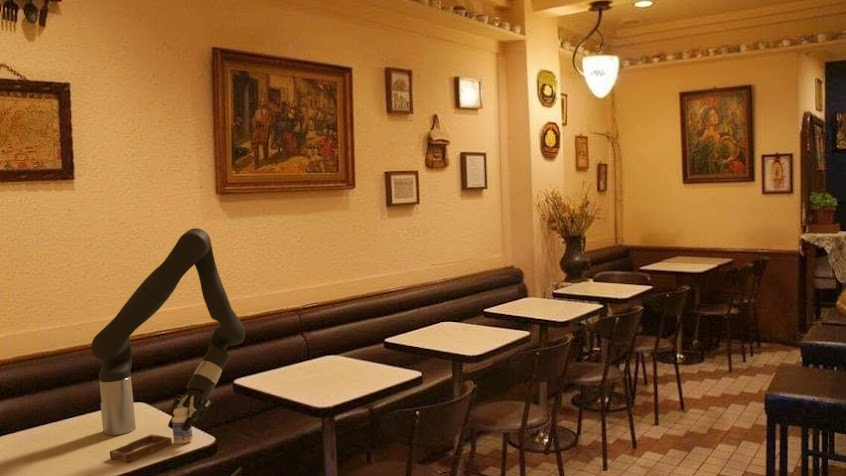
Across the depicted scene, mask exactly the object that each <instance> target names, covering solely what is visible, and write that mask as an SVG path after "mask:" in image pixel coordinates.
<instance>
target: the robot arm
mask: <svg viewBox="0 0 846 476" xmlns="http://www.w3.org/2000/svg"><path fill="white" fill-rule="evenodd" d="M193 266H195V268H196V272H197V274H198V278H199V283H200V289H201V293H202V296H203V297H202V298H203V301H204V303H205V306H206V308H207V311H208V314H209V316H210V318H211V319H212V320H213V321H216V322H218V323H219V325H218V326H217V327H216V328H215V329H214V331H213V333H212V334H211V335H212V336H211V338H210V342H209V346H208V349H207V352H206V353H205V355H204V357H203V359H202V361H201V362H200V363H199V365H198V366H197V368H196V369H195V371H194V373H193V374H192V377H191V378H190V380H189V381H188V384H187V385H186V392H184V394H183V395H180V393H178V394H176V395H175V397H174V400H173V403H172V404H171V407H170V410H169V412H170V413H171V414H172V416H171V418H170V420H169V422H168V424H167V426H168V428H169V429H171V430H173V426H172V418H173V417H174V416H175V415H174V409H177V408H181V407H186V408H187V409H188V417H187V419H186V420H185V422H184V424H183V426H182V430H183V431H185V432H187V431H188V430H189V429H190V427H191V425H193V423H194V422H195V421H197V420H201V419H202V418H203V417H204V416H205V414H206V412H207V411H208V410H209V408H210V406H211V405H212V402H211V401H210V400H209V399H208V398H210V396H211V394H212V392H213V391H214V388H215V387H216V386H217V383H218V381H219V379H220V377H221V374H222V372H223V371H224V368H225V366H226V365H227V363H228V360H229V358H230V355H229V353H228V351H227V348H228V346H237V345H240V344H241V343H243V342H244V340H245V338H246V330H245V327H244V325H243V322H242V321H241V320H240V318H239V317H238V315H237V314H236V312H235V311H234V309H233V308H232V306H231V302H230V301H229V297H228V295H227V292H226V289H225V287H224V285H223V282H222V279H221V277H220V274H219V271H218V268H217V264H216V260H215V256H214V251H213V247H212V241H211V237H210V235H209V234H208V233H207V231H205V230H204V229H201V228H197V227H194V228H190V229H188V230H186V231H185V232H184V233H183V234H182V235H181V236H180V237H179V238H178V239H177V242H176V244H175V245H174V246H173V247H172V249H171V251H170V252H169V254H168V256H166V258H165V259H164V260H163V261H162V263H161V264H160V265H159V266H158V267H156V268H155V269H154V270H153V271H152V272H151V273H150V274H149V275H148V276H147V277H146V278H145V279H144V280H143V281H142V282H141V283H140V285H139V286H138V287H137V288H136V289H135V291H134V292H133V293H132V294H131V296H130V297H129V298H128V299H127V300H126V302H125V303H124V304H123V306H122V307H121V308H120V310H119V312H118V313H117V314H116V316H114V317H113V319H112V320H111V321H110V322H109V323H108V324H107V325H106V326H104V328H103V329H101V330H100V331H99V332H98V333H97V334H96V335H95V336H94V338H93V339H92V342H91V346H90V349H91V353H92V355H93V357H95V358H96V359H97V360H100V361H102V367H101V368H100V370H99V372H98V378H99V380H98V381H99V388H100V389H99V391H100V399H101V403H100V412H101V421H102V423H101V424H102V431H103V433H104V434H105V435H106V436H118V435H124V434H128V433H130V432H133V431H134V430H135V429H136V428H137V427H136V417H135V404H134V396H133V385H132V376H131V370H132V365H133V364H132V363H133V359H132V358H133V357H132V343H131V338H130V336H131V335H132V334H133V333H134V332H135V331H136V330H137V329H138V328H139V327H140V326H142V325H143V324H144V323H146V321H148V320H150V319H151V318H152V317H153V316H154V315H155V314H156V313H157V312H158V310H160V309H161V307H162V306H164V304H165V303H166V302H167V300H168V299H169V298H170V296H171V295H172V294H173V292H174V291H175V289H176V288H177V286H178V285H179V283H180V281H181V279H182V278H183V277H184V275H185V274H186V273H187V272H188V271H189V270H190V269H191V268H193Z"/></svg>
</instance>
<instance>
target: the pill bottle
mask: <svg viewBox="0 0 846 476" xmlns="http://www.w3.org/2000/svg"><path fill="white" fill-rule="evenodd" d="M174 415H175V416H174V417H173V418H172V417H171V418H172V426H173V429H172V432H173V433H172V434H173V442H174V443H175V444H181V445H182V444H186V443H189V442H192V440H193V426H192V425H193V424H192V425H191V427H190V429H189V430H188V431H187V432H185V431H183V430H182V426H183V424H184V422H185V420H186V419H187V417H188V415H189V410H188V409H187V408H186V407H183V406H182V407H181V408H177V409H176V408H175V409H174Z"/></svg>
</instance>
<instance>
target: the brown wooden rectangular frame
mask: <svg viewBox="0 0 846 476" xmlns="http://www.w3.org/2000/svg"><path fill="white" fill-rule="evenodd" d="M172 440H173V438H172V437H168V436H164V435H163V436H162V435H159V434H152V433H151V434H149V435H146V436H143V437H142V438H138V439H136V440H134V441H131V442H129V443H127V444H125V445H122V446H120V447H117V448H115V449H112V450H110V451H109V458H110V460H113V459H114V460H113V461H117V460H119V461H118V462H121V461H123V463H126V462H127V463H126V464H130V463H132V462H135V461H137V460H139V459H143V458H144V457H147V456H150V455H152V454H154V453H157V452H159V451H162V450H164V449H166V448H168V447H171V446H172V445H173V441H172ZM129 462H130V463H129Z"/></svg>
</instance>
